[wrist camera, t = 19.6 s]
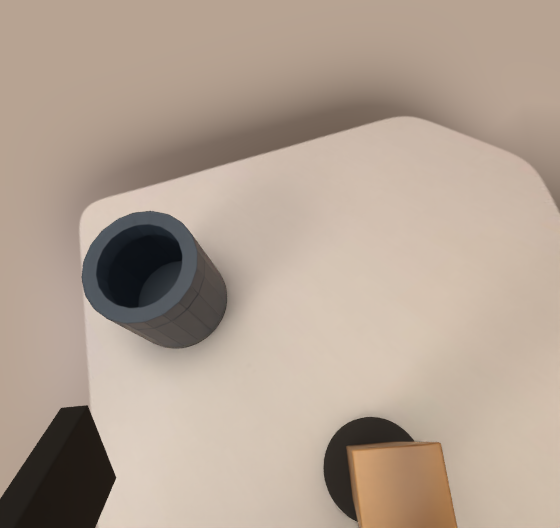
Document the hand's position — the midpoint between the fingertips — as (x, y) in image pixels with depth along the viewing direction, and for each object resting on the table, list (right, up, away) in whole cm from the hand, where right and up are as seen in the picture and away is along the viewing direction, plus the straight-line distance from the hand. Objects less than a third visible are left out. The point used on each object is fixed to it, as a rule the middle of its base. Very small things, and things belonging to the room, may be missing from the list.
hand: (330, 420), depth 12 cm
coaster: (+6, -12, +25) cm, 28 cm away
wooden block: (+6, -12, +24) cm, 28 cm away
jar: (-11, +1, +32) cm, 34 cm away
